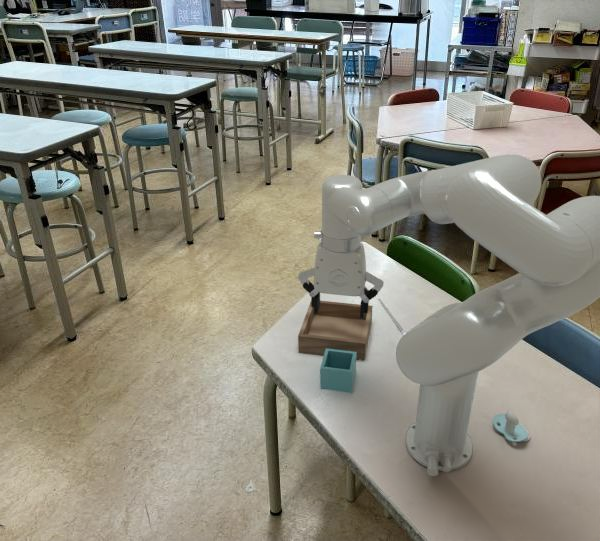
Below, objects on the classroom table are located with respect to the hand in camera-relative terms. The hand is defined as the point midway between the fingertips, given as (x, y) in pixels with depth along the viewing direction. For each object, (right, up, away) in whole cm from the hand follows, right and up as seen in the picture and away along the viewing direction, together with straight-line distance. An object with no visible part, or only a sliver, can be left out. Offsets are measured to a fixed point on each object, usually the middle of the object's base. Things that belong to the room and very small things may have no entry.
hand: (339, 312), depth 114 cm
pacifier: (+34, -24, -5) cm, 42 cm away
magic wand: (+15, -3, +32) cm, 36 cm away
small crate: (0, -16, +9) cm, 19 cm away
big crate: (+1, -8, +23) cm, 24 cm away
